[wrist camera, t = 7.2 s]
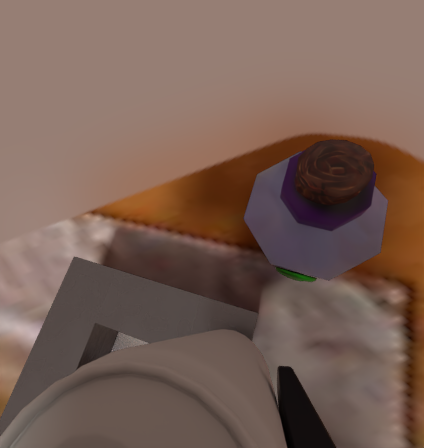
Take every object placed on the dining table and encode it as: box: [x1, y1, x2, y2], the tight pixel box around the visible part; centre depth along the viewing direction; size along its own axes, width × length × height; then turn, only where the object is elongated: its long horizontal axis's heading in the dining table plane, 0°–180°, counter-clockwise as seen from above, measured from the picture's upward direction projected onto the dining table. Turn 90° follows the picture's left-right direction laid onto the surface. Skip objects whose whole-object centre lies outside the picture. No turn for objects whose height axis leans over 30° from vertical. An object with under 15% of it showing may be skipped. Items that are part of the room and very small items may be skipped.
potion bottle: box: [243, 140, 388, 282], centre depth 17 cm, size 9×9×12 cm
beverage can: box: [0, 329, 287, 448], centre depth 9 cm, size 5×5×12 cm
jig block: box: [0, 257, 258, 436], centre depth 19 cm, size 15×15×4 cm
